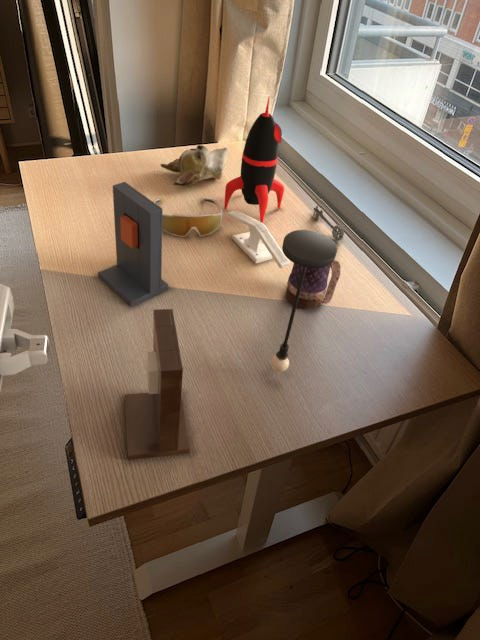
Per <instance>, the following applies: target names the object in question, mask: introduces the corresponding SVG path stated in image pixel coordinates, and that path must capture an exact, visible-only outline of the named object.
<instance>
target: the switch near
mask: <svg viewBox="0 0 480 640" xmlns="http://www.w3.org/2000/svg"><path fill="white" fill-rule="evenodd" d="M146 380H147V390H148V392H147V393H149V394H158V365H157V356H156V351H153V350H152V351H147V352H146Z"/></svg>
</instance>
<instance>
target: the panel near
mask: <svg viewBox="0 0 480 640" xmlns="http://www.w3.org/2000/svg"><path fill="white" fill-rule="evenodd" d="M152 312H153V318H152V319H153V322H152V323H153V329H152V338H153V339H152V343H153V344H152V347H153V348H152V349H153V350H152V352H153V351H156V356H157V365H158V394H149V392H141V393H128V394H124V409H125V411H124V412H125V427H126V428H125V429H126V446H127V460H129V461H130V460H131V461H132V460H138V459H148V458H158V457H166V456H174V455H175V456H176V455H183V454H190V453H191V452H190V451H191V447H190V441H189V433H188V429H187V421H186V414H185V408H184V401H183V396H182V391H183V390H182V389H183V376H184V373H183V372H184V368H183V362H182V355H181V350H180V349H181V348H180V344H179V337H178V331H177V324H176V319H175V311H174V308H161V309H159V308H158V309H153V310H152Z"/></svg>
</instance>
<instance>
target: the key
mask: <svg viewBox="0 0 480 640" xmlns="http://www.w3.org/2000/svg"><path fill="white" fill-rule="evenodd" d="M318 208H319V206H318V205H316V206H315V207H313V215H312V216H313V217H314V218H315V219H316V220H317V221H319V220H320V219H321V220H323V222H325V224H327V225H328V226H329V227H330V228H331V229H332V231H331V235H332V238H333V239H334V240H335V241H336V242H339V241H342V240H343V239H344V235H345V231H344V228H343V227H342V226H341V225H340V224H336V225H333V224H332V223H331V222H330V220H328V218H327V217H326V216H325V215H324V214H323V213H324V211H323V210H322V209H320V210H319V209H318Z"/></svg>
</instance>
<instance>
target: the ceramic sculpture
mask: <svg viewBox="0 0 480 640" xmlns="http://www.w3.org/2000/svg"><path fill="white" fill-rule="evenodd" d="M228 152H229V151H228V148H227V147H223V148H215V149H213V150H210V149H209V148H208V147H207V146H205V145H203V144H202V145H201V144H198V145H197V146H196V148H190V149H186V150H184V151H183V152H182V153H181V154H180V156H179V158H176V159H174V160H173V161H170V162H169V163H161V164H160V167H161V168H163V169H165V170H167V171H170V172H172V173H179V174H180V175H179V176H178V177H177V179H176V180H175V182H173V183H172V184H173V185H174V186H177V187H186V188H187V187H191V186H192V185H194V184H195V183H197V182H201V181H204V180H208V179H212V178H213V179H215V180H217V181H220V180H221V179H222V178H223V175H224V169H225V167H226V165H227V160H228Z"/></svg>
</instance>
